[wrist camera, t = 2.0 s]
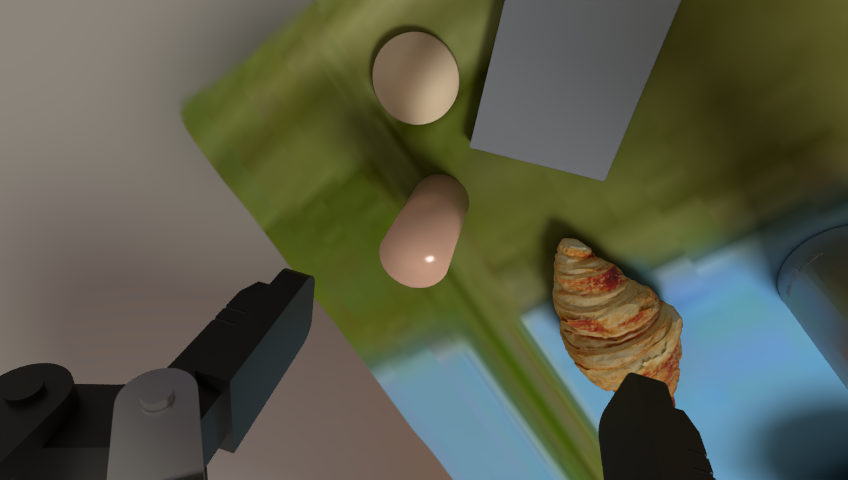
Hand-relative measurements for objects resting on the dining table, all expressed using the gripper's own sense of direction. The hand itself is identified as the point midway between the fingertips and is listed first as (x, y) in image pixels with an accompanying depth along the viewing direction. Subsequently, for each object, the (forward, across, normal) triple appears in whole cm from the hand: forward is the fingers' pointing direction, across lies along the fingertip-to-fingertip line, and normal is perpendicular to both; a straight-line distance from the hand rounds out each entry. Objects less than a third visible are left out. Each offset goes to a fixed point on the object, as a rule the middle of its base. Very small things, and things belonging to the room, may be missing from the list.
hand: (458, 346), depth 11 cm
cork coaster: (+29, +8, +1) cm, 30 cm away
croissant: (+29, -15, +17) cm, 37 cm away
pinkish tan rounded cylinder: (+28, +4, +11) cm, 31 cm away
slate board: (+28, -3, -2) cm, 29 cm away
